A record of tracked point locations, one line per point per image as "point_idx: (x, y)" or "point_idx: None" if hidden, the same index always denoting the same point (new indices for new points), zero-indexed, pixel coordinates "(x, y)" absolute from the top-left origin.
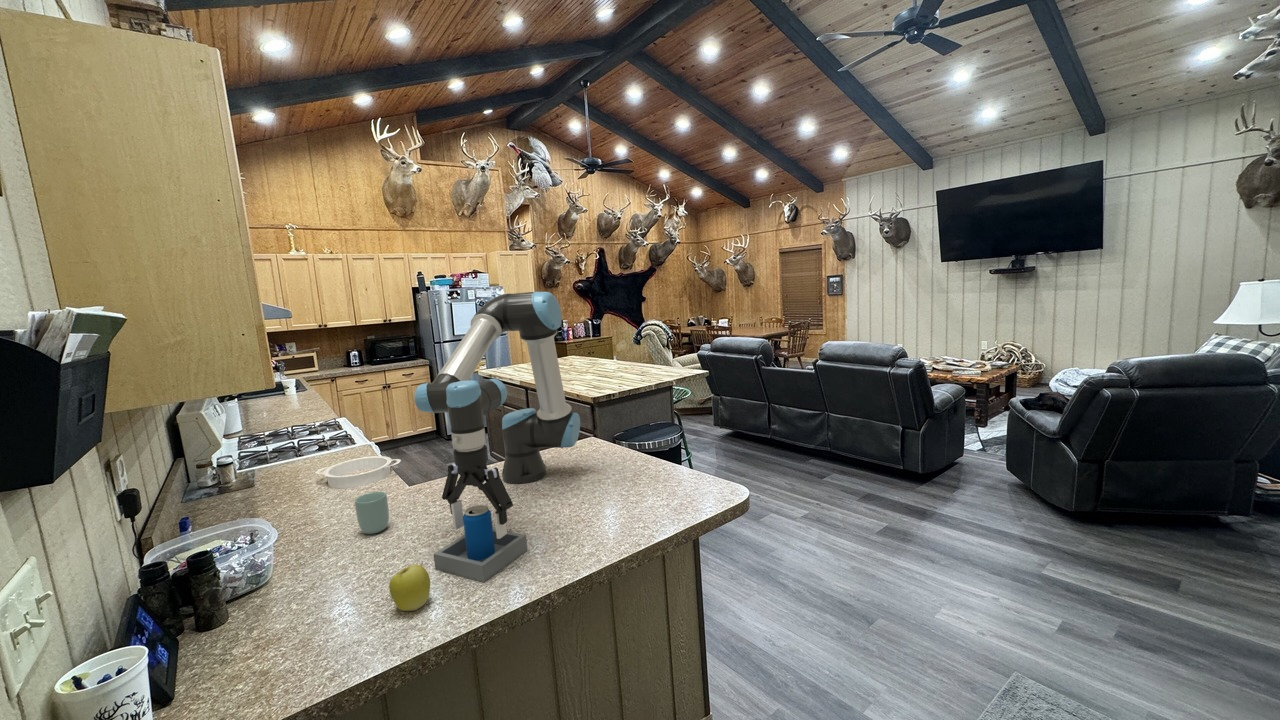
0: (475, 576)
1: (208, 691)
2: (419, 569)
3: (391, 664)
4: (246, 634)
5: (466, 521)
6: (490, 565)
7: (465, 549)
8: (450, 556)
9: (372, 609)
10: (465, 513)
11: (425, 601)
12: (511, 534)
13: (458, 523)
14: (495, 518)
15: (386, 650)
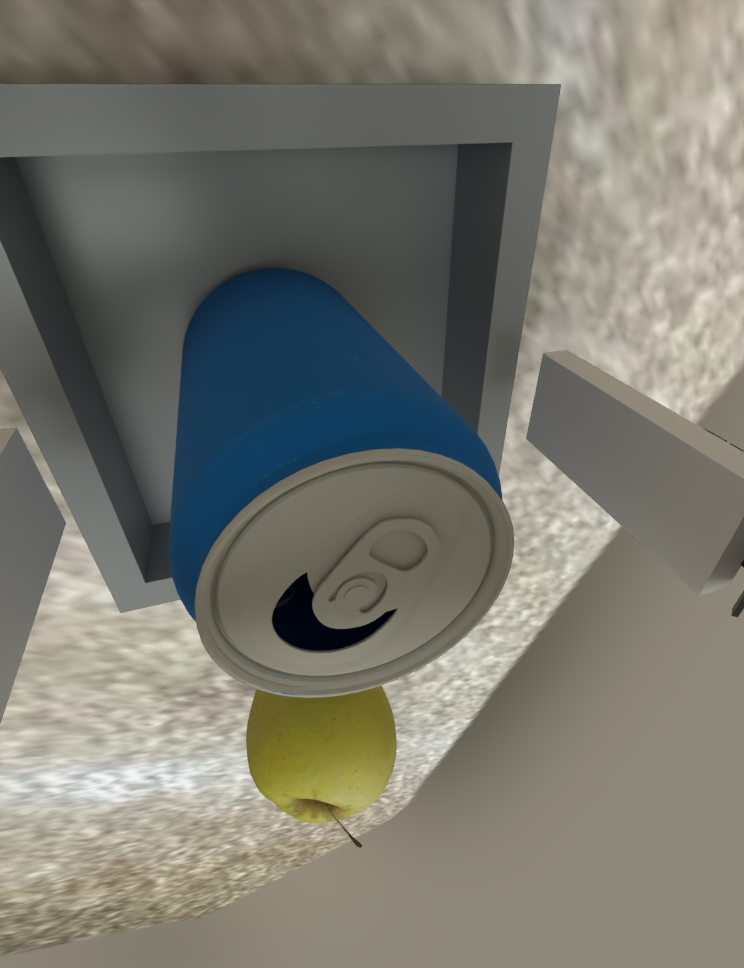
0: None
1: (201, 901)
2: (377, 778)
3: (459, 729)
4: (13, 908)
5: (344, 645)
6: None
7: (85, 358)
8: None
9: (207, 735)
10: (274, 668)
11: None
12: (423, 135)
13: (37, 526)
14: (656, 544)
15: (413, 731)
